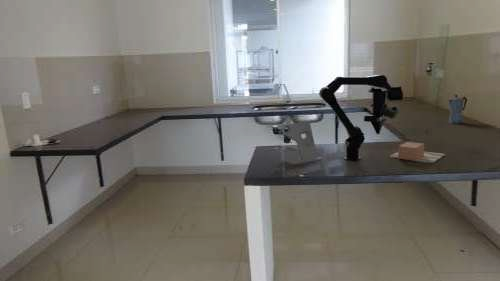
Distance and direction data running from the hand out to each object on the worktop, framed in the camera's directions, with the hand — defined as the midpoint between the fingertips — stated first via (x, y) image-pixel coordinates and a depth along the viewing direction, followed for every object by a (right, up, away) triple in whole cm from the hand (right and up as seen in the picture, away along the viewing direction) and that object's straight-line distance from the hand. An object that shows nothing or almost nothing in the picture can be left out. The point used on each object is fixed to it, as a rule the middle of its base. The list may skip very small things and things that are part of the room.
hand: (378, 134), depth 179 cm
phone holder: (-36, -13, +6) cm, 39 cm away
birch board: (+20, -11, +3) cm, 23 cm away
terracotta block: (+12, -9, -5) cm, 16 cm away
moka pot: (+86, +9, +87) cm, 123 cm away
